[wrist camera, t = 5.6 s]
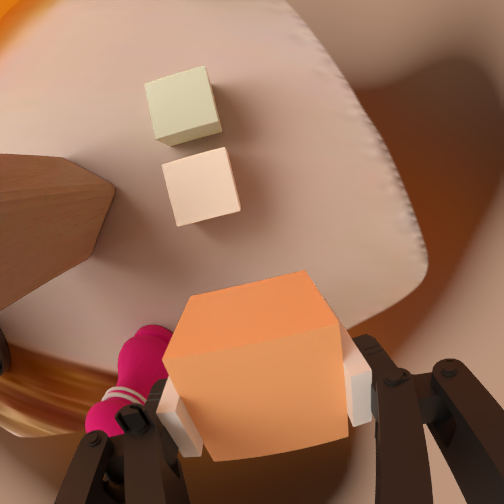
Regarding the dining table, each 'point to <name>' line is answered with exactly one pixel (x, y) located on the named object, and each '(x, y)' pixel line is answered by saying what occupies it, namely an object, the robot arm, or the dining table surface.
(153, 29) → the dining table surface
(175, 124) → the sage cube
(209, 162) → the cream cube
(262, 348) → the orange cube
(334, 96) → the dining table surface
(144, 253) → the dining table surface
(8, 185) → the wooden block
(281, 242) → the dining table surface
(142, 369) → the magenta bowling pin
